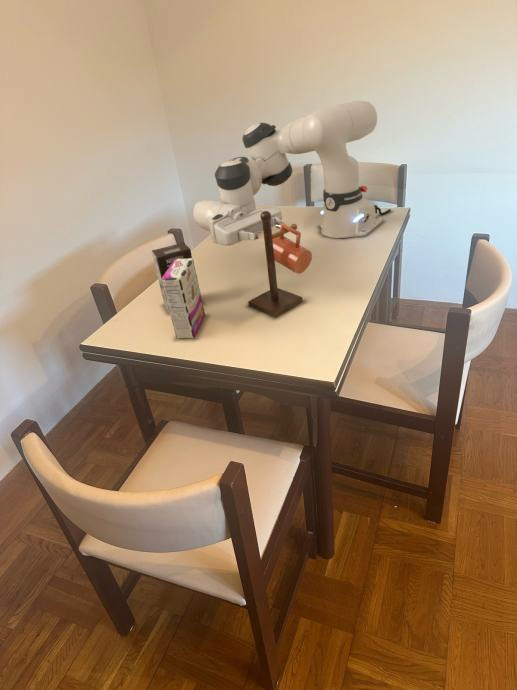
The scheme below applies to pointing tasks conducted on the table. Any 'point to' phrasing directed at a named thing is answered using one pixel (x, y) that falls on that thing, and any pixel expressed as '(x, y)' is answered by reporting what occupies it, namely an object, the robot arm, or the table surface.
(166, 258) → the coffee box
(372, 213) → the robot arm
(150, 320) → the table surface
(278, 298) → the mug stand
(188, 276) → the candy bar box
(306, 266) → the mug
